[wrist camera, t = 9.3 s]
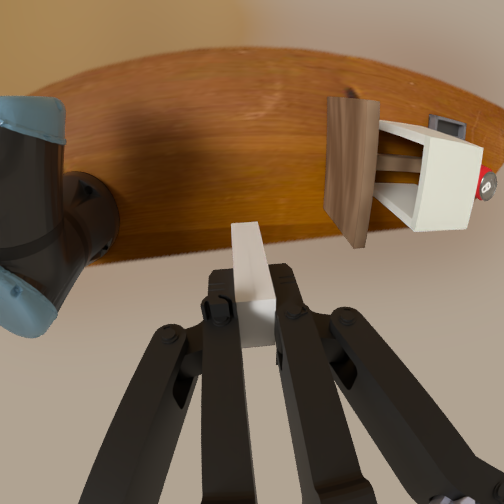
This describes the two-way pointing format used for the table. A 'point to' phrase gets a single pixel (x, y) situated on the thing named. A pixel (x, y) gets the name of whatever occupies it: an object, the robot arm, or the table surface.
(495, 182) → the beverage can
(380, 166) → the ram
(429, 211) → the tunnel
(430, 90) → the table surface
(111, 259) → the table surface
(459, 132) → the pit
